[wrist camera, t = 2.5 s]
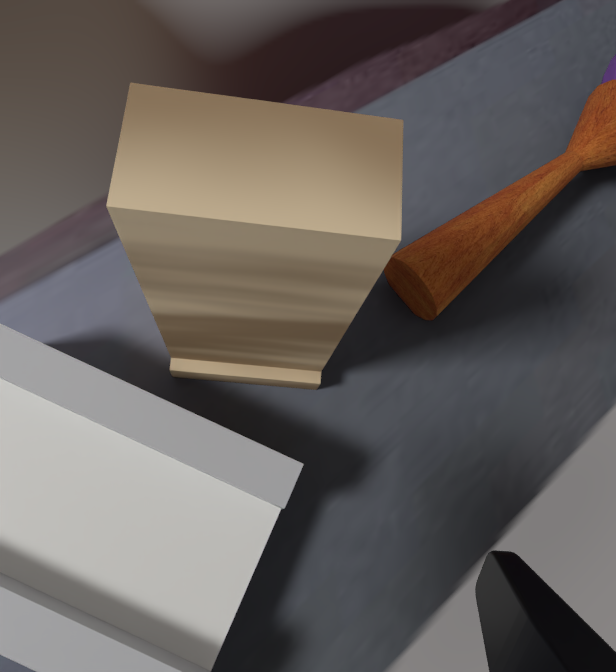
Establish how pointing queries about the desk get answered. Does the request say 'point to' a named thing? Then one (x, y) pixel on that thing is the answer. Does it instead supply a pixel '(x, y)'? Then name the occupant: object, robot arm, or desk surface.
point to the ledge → (121, 519)
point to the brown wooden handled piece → (500, 214)
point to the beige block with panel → (254, 227)
